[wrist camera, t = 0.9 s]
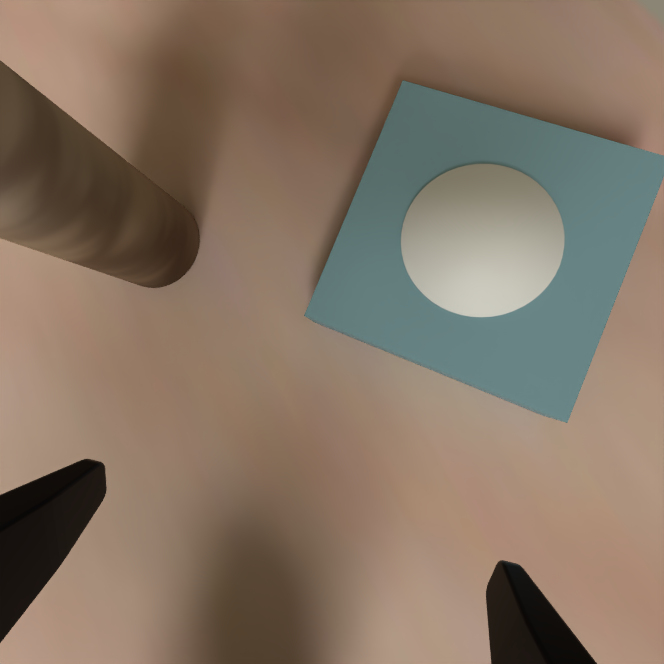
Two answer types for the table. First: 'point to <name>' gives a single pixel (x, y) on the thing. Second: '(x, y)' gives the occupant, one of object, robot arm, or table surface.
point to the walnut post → (84, 195)
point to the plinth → (488, 246)
